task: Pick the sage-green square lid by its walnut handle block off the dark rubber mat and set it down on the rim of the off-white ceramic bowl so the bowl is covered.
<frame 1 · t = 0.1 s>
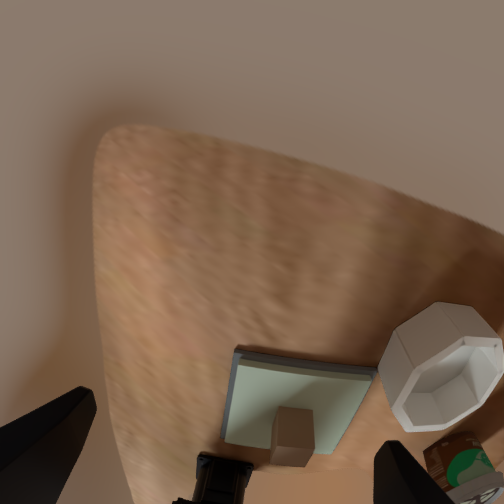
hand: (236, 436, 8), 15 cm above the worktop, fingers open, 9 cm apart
food container: (459, 439, 28), on the worktop
lid: (291, 412, 26), resting on mat
bowl: (432, 352, 23), on the worktop
mat: (291, 408, 26), on the worktop
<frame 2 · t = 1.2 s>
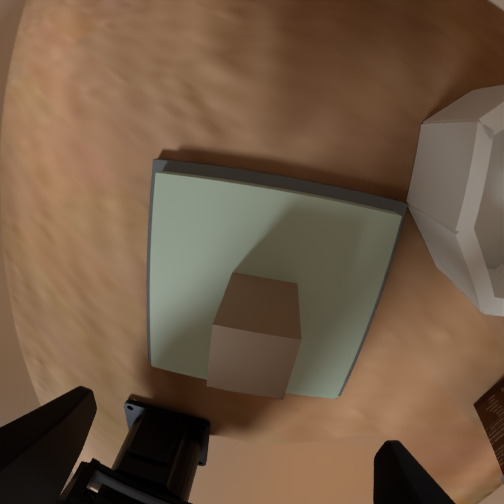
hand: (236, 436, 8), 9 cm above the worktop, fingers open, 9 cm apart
lid: (260, 298, 16), resting on mat
bowl: (487, 188, 13), on the worktop
mat: (261, 293, 16), on the worktop
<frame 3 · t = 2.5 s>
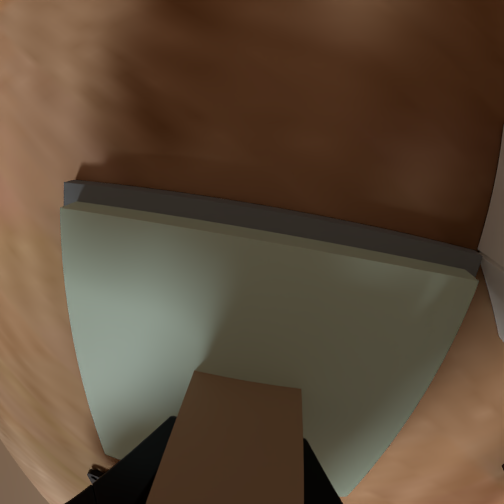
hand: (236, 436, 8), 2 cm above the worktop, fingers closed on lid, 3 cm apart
lid: (243, 396, 9), resting on mat, touching gripper
mat: (245, 386, 10), on the worktop
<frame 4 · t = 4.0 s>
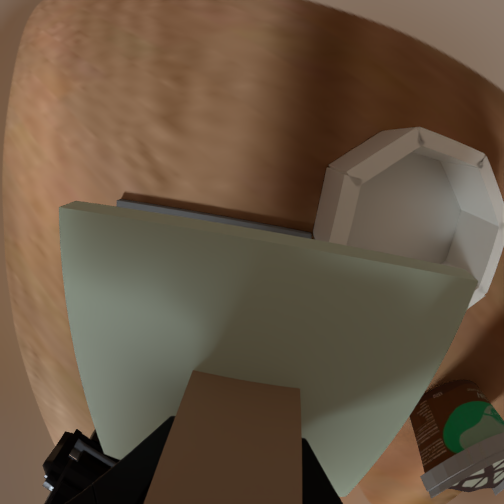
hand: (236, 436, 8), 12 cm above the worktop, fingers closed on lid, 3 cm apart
food container: (458, 394, 22), on the worktop
lid: (242, 396, 9), point 11 cm above the worktop, touching gripper
bowl: (396, 217, 18), on the worktop
mat: (199, 302, 21), on the worktop
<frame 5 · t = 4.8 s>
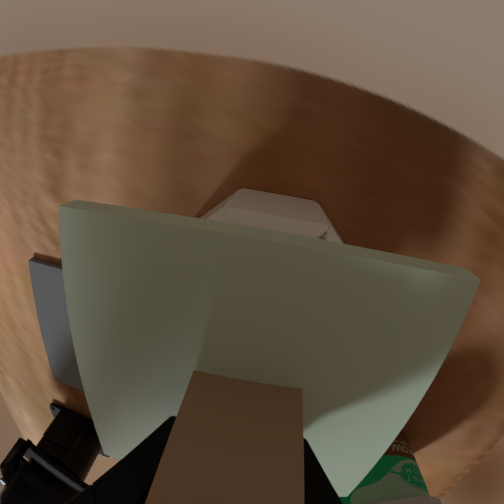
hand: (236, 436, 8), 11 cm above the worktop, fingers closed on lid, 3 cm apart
food container: (380, 439, 23), on the worktop
lid: (243, 396, 9), point 9 cm above the worktop, touching gripper
bowl: (263, 279, 18), on the worktop
mat: (101, 345, 21), on the worktop
when the fingers open (8 cm above the worktop, at t = 5.4 s): lid drops 2 cm, resting on bowl.
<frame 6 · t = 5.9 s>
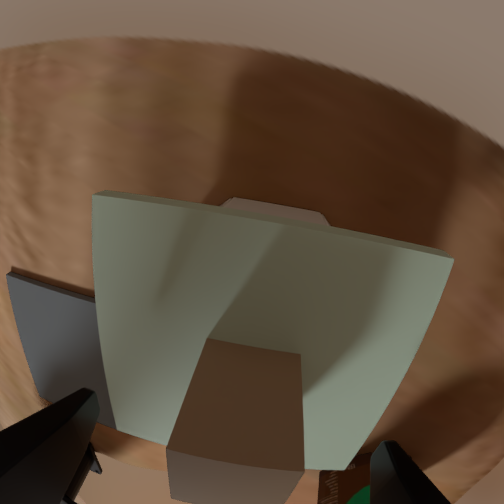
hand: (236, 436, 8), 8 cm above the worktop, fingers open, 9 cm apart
food container: (384, 461, 20), on the worktop
lid: (249, 365, 11), point 5 cm above the worktop, touching bowl
bowl: (259, 301, 16), on the worktop
mat: (85, 365, 19), on the worktop
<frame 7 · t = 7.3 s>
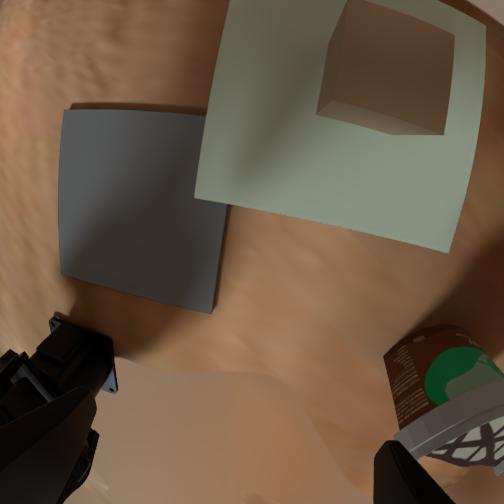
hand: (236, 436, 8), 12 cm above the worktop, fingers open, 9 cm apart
food container: (447, 346, 20), on the worktop
lid: (356, 90, 11), point 5 cm above the worktop, touching bowl
mat: (133, 206, 19), on the worktop
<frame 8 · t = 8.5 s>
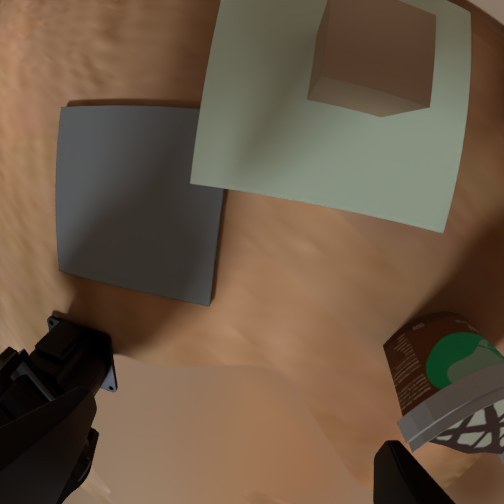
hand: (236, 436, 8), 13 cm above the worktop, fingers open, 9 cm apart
food container: (446, 334, 20), on the worktop
lid: (346, 76, 11), point 5 cm above the worktop, touching bowl
mat: (130, 200, 19), on the worktop
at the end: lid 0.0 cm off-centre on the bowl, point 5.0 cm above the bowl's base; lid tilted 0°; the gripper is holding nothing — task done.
